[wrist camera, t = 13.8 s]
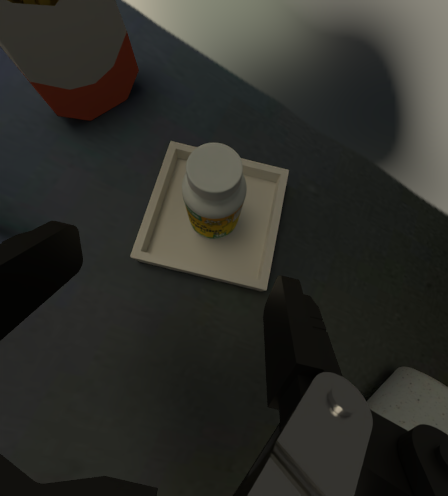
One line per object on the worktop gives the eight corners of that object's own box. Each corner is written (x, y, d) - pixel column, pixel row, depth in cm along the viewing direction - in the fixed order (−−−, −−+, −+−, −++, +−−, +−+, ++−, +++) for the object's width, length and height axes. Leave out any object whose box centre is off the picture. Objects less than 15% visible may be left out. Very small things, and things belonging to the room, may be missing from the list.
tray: (138, 261, 24) (130, 257, 21) (174, 155, 27) (170, 140, 25) (260, 291, 24) (266, 290, 21) (281, 181, 27) (288, 170, 25)
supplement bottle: (245, 207, 25) (265, 152, 16) (225, 249, 24) (234, 215, 15) (202, 188, 25) (198, 122, 16) (180, 228, 24) (161, 181, 15)
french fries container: (146, 91, 29) (51, -225, 12) (73, 134, 27) (-179, -174, 9) (125, 69, 30) (5, -262, 12) (52, 109, 28) (-220, -222, 10)
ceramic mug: (327, 413, 22) (390, 474, 14) (381, 355, 23) (464, 383, 16) (406, 514, 20) (523, 643, 13) (458, 446, 22) (589, 524, 14)
